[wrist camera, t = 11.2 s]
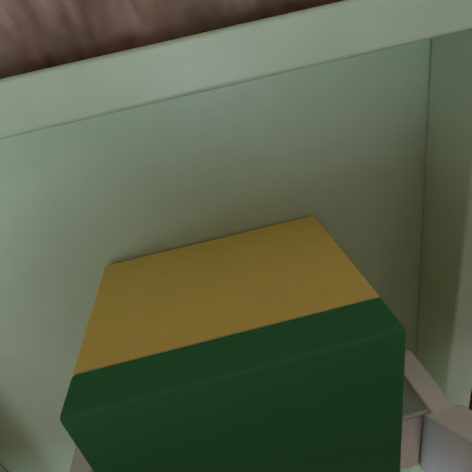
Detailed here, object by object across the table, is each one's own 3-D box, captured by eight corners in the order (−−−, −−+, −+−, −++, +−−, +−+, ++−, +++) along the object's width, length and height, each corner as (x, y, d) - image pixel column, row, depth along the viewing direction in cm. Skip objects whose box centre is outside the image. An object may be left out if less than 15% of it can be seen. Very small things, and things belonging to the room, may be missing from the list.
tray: (452, -24, 7) (544, -46, 6) (417, 491, 17) (447, 546, 15) (-289, 145, 7) (-457, 184, 5) (100, 580, 16) (90, 649, 14)
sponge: (104, 265, 9) (57, 420, 5) (313, 214, 9) (408, 329, 5) (190, 462, 12) (197, 628, 9) (334, 423, 13) (396, 570, 9)
